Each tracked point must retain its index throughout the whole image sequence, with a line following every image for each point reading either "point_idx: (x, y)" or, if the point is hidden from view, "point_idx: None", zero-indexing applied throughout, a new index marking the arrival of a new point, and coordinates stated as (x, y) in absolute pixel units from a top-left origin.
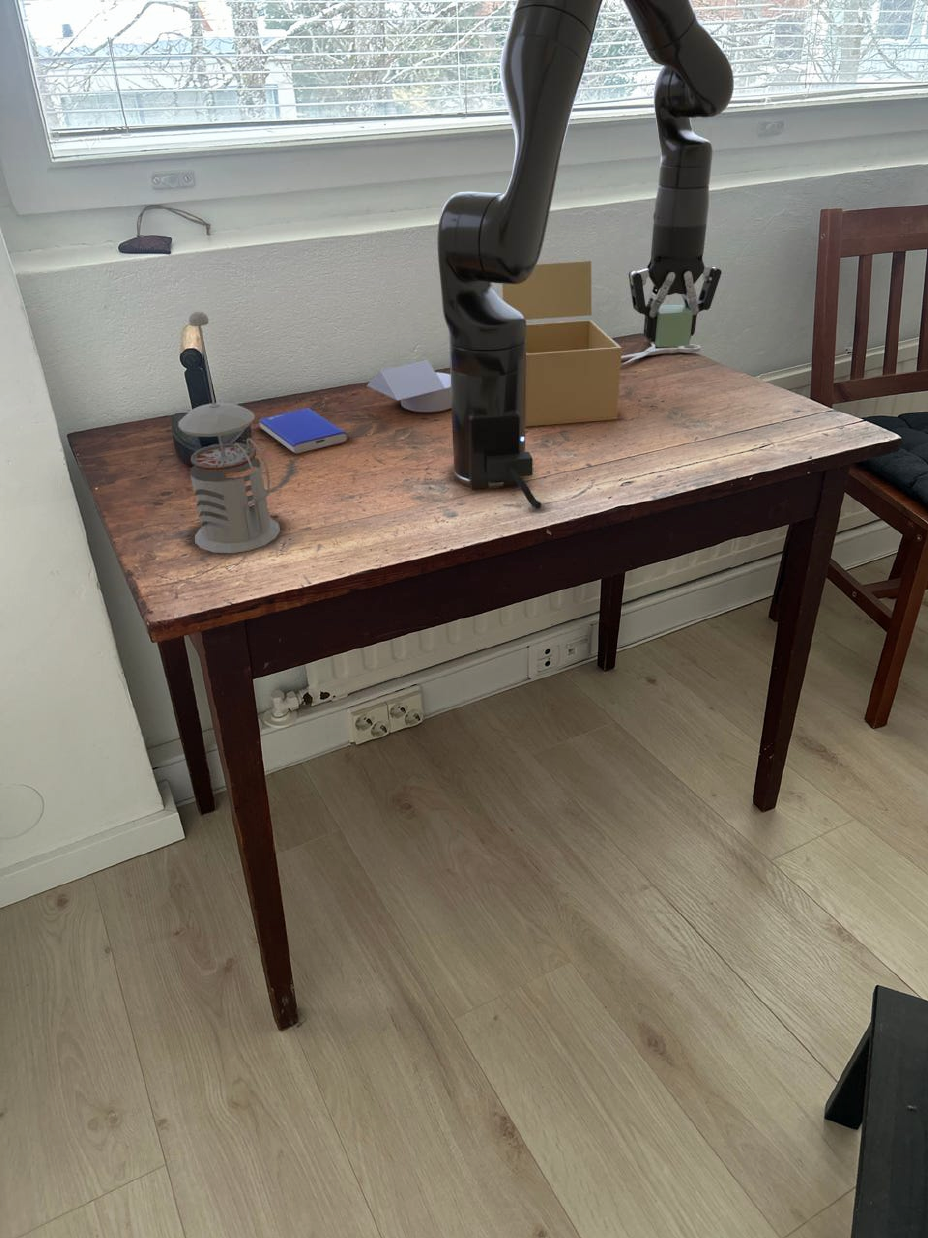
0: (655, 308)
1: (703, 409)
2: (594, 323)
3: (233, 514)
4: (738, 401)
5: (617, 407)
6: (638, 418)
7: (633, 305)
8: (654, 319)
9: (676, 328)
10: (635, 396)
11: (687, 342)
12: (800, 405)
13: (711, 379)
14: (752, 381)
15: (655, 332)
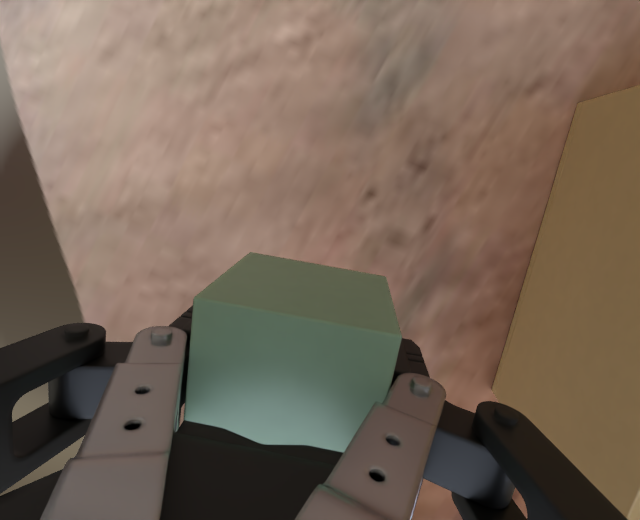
0: (413, 400)
1: (296, 86)
2: (633, 513)
3: None
4: (172, 111)
5: (601, 96)
6: (513, 86)
7: (511, 504)
8: (401, 368)
9: (303, 285)
10: (418, 262)
11: (256, 256)
12: (24, 9)
13: (158, 303)
14: (64, 246)
15: None
